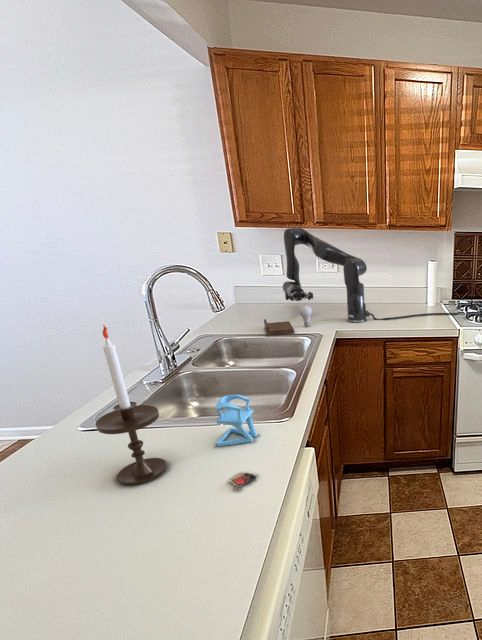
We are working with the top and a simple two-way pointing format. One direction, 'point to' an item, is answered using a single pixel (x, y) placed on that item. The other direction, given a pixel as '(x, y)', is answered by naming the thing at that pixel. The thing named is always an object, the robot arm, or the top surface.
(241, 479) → the matchbox
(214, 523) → the top surface
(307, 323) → the lightbulb
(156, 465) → the candlestick
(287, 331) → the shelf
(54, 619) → the top surface
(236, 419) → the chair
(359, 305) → the robot arm
